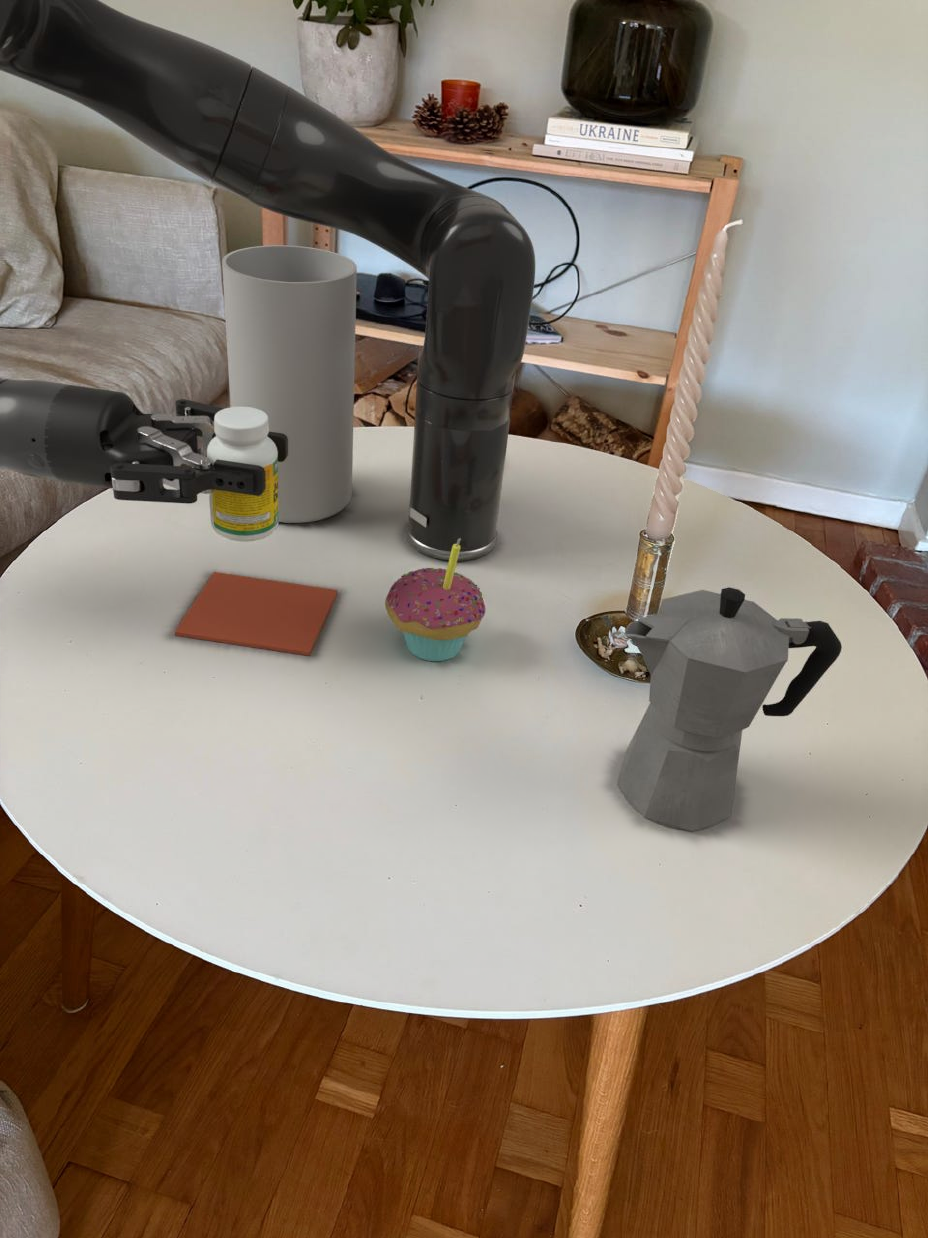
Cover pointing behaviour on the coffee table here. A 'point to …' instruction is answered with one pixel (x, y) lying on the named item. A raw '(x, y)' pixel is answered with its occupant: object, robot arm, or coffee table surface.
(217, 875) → the coffee table surface
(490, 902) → the coffee table surface
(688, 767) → the coffeepot
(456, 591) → the cupcake
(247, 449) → the supplement bottle
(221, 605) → the square tile
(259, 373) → the cylinder vase
